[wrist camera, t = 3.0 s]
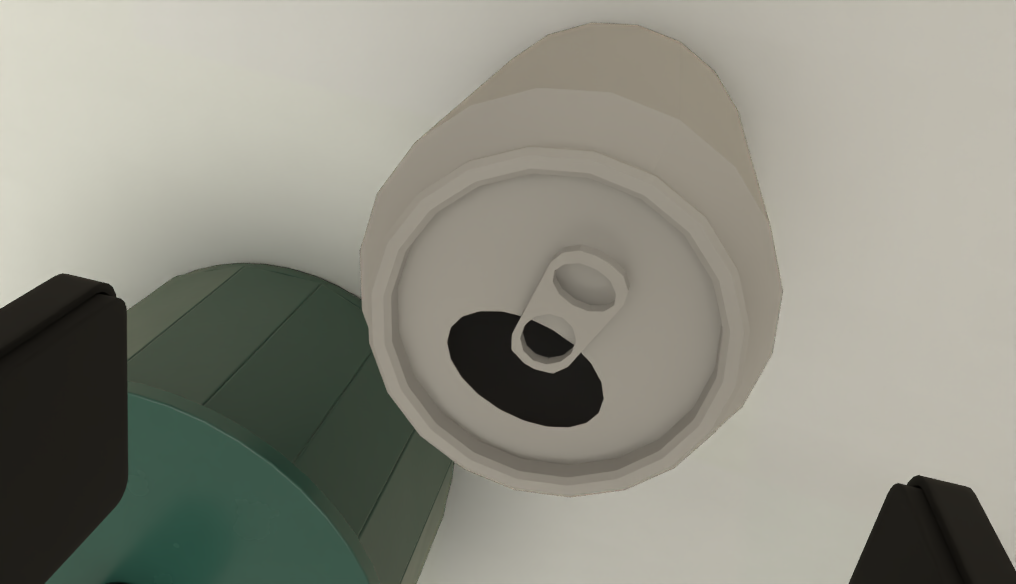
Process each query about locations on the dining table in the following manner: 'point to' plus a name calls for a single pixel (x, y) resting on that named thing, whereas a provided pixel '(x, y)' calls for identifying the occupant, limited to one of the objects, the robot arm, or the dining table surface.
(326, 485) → the pot
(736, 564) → the dining table surface
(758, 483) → the dining table surface
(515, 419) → the can
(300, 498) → the pot lid
